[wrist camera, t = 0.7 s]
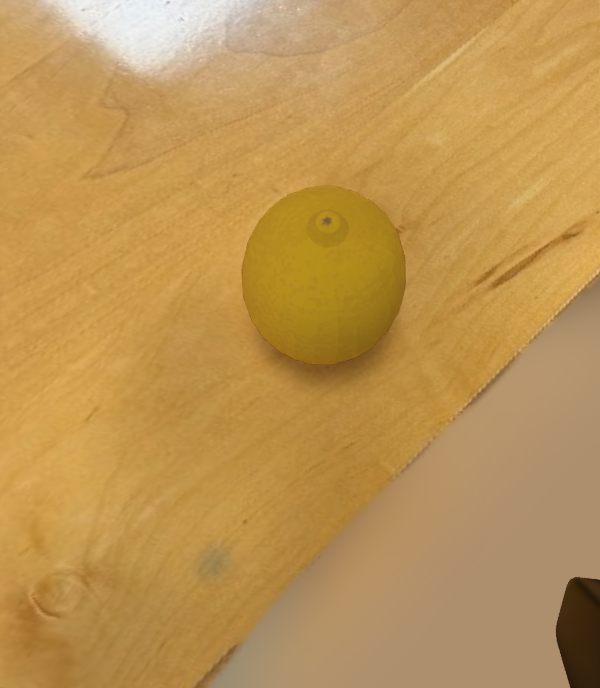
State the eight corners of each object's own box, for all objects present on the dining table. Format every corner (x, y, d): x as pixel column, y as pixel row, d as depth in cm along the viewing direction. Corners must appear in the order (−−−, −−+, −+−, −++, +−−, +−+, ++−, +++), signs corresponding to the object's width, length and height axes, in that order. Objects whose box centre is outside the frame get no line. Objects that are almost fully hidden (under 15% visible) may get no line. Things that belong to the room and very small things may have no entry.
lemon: (324, 236, 25) (335, 105, 17) (415, 328, 23) (470, 230, 16) (224, 314, 24) (187, 211, 16) (313, 416, 22) (319, 356, 15)
